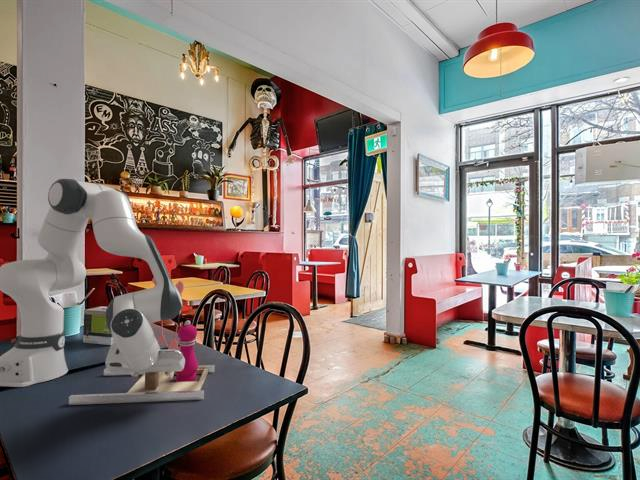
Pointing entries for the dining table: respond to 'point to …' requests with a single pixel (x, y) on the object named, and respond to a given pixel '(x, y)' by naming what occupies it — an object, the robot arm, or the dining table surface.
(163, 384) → the beige piece
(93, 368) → the dining table surface
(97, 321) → the tea box
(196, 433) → the dining table surface
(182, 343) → the pepper mill
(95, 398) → the runner track
